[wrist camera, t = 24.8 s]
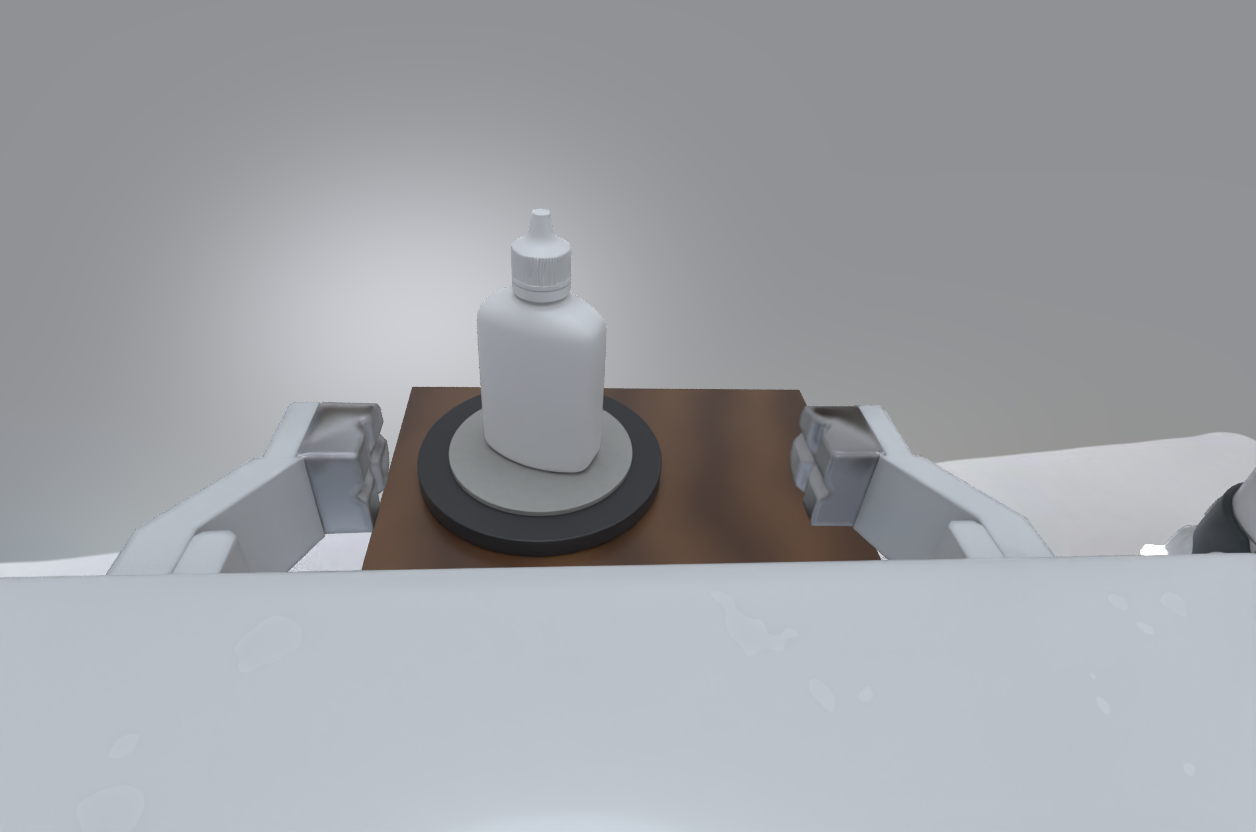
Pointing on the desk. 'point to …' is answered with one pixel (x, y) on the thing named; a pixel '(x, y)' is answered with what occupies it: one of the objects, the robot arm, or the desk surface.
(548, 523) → the hot plate
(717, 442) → the desk shelf
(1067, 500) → the desk surface
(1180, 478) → the desk surface
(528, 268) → the eye dropper bottle
